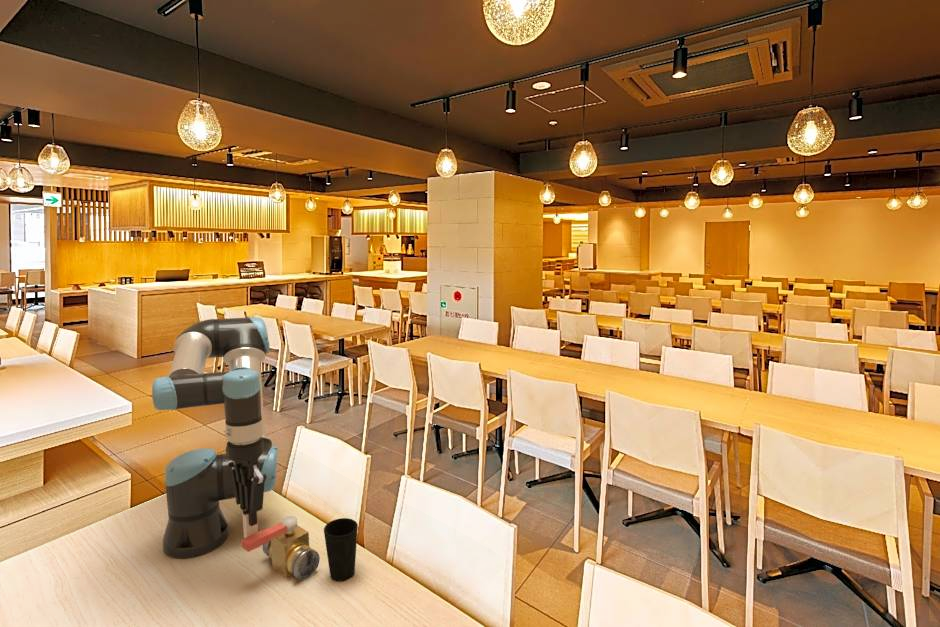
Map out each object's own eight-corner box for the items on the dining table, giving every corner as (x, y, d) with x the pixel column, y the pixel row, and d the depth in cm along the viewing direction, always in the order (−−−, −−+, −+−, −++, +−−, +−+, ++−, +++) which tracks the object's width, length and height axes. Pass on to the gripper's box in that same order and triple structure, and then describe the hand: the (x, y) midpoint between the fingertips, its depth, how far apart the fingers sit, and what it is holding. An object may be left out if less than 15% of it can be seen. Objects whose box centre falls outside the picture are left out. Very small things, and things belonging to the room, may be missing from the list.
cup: (350, 587, 117) (349, 538, 115) (319, 582, 118) (317, 534, 116) (364, 565, 124) (362, 520, 122) (334, 561, 126) (333, 516, 124)
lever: (291, 522, 125) (291, 514, 125) (300, 527, 123) (300, 519, 122) (240, 546, 115) (240, 538, 115) (249, 552, 113) (248, 544, 113)
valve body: (263, 560, 126) (261, 523, 124) (287, 547, 131) (285, 512, 129) (295, 585, 117) (293, 545, 116) (320, 570, 122) (318, 532, 121)
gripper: (214, 436, 116) (221, 533, 120) (243, 451, 108) (249, 554, 112) (246, 427, 122) (252, 519, 126) (275, 441, 114) (281, 539, 117)
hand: (251, 536), depth 119 cm, fingers closed
